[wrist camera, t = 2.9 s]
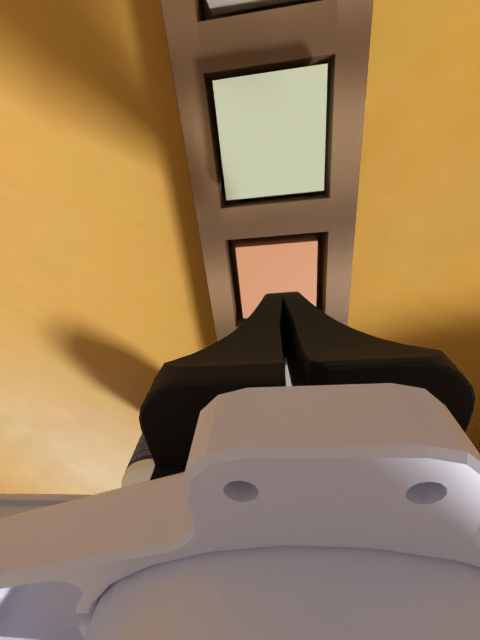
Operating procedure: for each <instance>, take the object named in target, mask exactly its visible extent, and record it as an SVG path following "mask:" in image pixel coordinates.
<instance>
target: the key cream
mask: <svg viewBox="0 0 480 640" xmlns="http://www.w3.org/2000/svg"><path fill="white" fill-rule="evenodd" d="M291 1H297V0H207V3H208V6H209V8H210V11H211V13H212V15H217V14H223V13H228V12H234V11H240V10H246V9H251V8H257V7H263V6H268V5H274V4H280V3H286V2H291Z"/></svg>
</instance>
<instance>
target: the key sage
mask: <svg viewBox="0 0 480 640" xmlns="http://www.w3.org/2000/svg"><path fill="white" fill-rule="evenodd" d="M327 72H328V63H327V64H320V65H314V66H307V67H300V68H294V69H287V70H280V71H274V72H267V73H260V74H253V75H247V76H240V77H233V78H227V79H220V80H213V81H212V82H213V90H214V99H215V107H216V116H217V124H218V133H219V142H220V150H221V159H222V167H223V176H224V184H225V193H226V200H235V199H245V198H255V197H265V196H275V195H285V194H294V193H304V192H314V191H324V172H325V139H326V105H327Z"/></svg>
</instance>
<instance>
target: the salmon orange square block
mask: <svg viewBox="0 0 480 640" xmlns="http://www.w3.org/2000/svg"><path fill="white" fill-rule="evenodd" d="M235 250H236V259H237V268H238V277H239V286H240V295H241V304H242V313H243V318H248V317H249V316H250V315H251V314H252V313H253V311H254V310H255V309H256V307H257V306H258V305H259V303H260V302H261V300H262V299H263V297H264V296H265V295H266V294H269V293H283V292H297V291H298V292H299V293H300V294H301V295H303V296H304V297H305V298H306V299H307V300H308V301H309V302H311V303H312V304H313V305H314V306H316V296H317V251H318V241H317V239H316V237H315V236H314V234H313V233H304V234H292V235H281V236H269V237H257V238H246V239H238V241H237V244H236V247H235Z"/></svg>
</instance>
